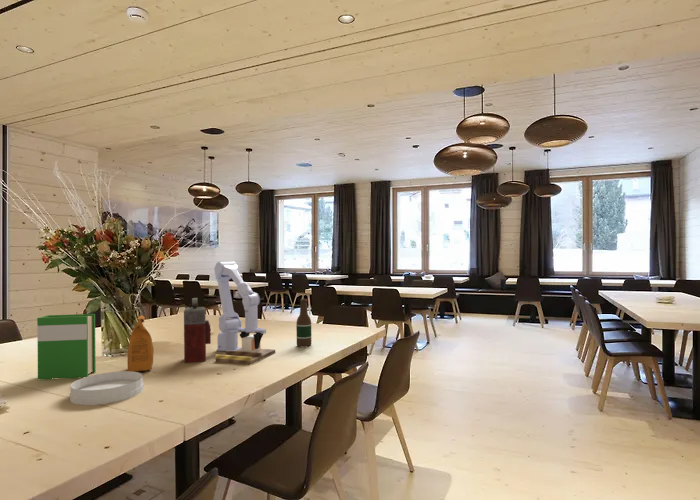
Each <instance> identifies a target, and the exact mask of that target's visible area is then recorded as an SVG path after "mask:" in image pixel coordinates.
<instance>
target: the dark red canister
mask: <svg viewBox="0 0 700 500" xmlns="http://www.w3.org/2000/svg"><path fill="white" fill-rule="evenodd" d="M211 331H212V329H211V324H210V322H209V320H208V319H206V307H204V306H198V297H193V298H191V307H185V309H184V310H183V351H184V352H183V355H184V357H183V358H184V359H183V361H184V362H183V363H184V364H190V363H201V362H202V363H204V362H206V361H207V353H206V352H207V349H206V348H207V345H210V344H211V343H212V341H211V340H212V339H211Z"/></svg>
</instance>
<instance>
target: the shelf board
mask: <svg viewBox="0 0 700 500" xmlns="http://www.w3.org/2000/svg"><path fill="white" fill-rule="evenodd" d="M274 354H276V349H271V348H270V349H268V348H261V350H259V351H257V352H243V351H242V347H241V348H240V349H238V350H235V351H229V350H227V351H225V354H214V355H215V362H216V363H226V364H227V363H229V364H240V365H253V364H255V363H257V362H259V361H261V360H263V359H266V358H268V357H269V356H271V355H274Z"/></svg>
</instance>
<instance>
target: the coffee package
mask: <svg viewBox="0 0 700 500" xmlns="http://www.w3.org/2000/svg"><path fill="white" fill-rule="evenodd" d="M145 318H146V317H145V316H144V315H140V316H138V317H136V319H137V322H136V325H135V327H134V328H133V329H132V331H131V334H130V339H129V342H128V347H127V349H128V350H127V371H131V372H138V373H141V372H144V371H146V372H147V371H149V370H152V368H153V365H154V354H155V353H154V345H153V343H154V342H153V338H152V336H151V334H150V332H149V331H148V329H147V328H146V327H145V326H144V323H145Z"/></svg>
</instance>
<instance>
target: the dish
mask: <svg viewBox="0 0 700 500" xmlns="http://www.w3.org/2000/svg"><path fill="white" fill-rule="evenodd" d="M143 378H144V377H143V374H142V373H141V372H131V371H128V370H127V371H123V370H121V371H120V370H119V371H111V372H110V371H109V372H103V373H98V374H97V373H95V374H93V375H88V377H85V378H78V379H77V380H75V381H73V382H72V383H71V384H70V392H69V401H70V403H71V404H74V405H78V404H79V406H98V405H105V404H112V403H116V402H117V403H118V402H121V401H122V402H123V401H126V400H128V399H131V398H133V397H135V396H137V395H139V394H141V393H142V392H143V390H144V381H143Z"/></svg>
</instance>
